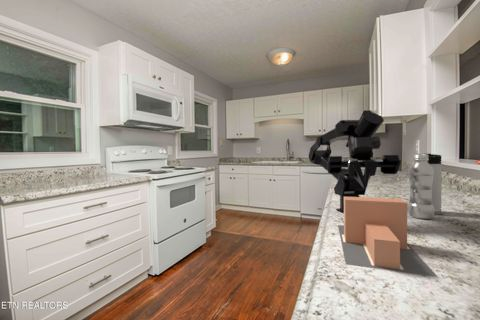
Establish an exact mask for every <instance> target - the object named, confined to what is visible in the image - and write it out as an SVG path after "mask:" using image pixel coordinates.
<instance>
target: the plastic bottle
mask: <svg viewBox="0 0 480 320" xmlns="http://www.w3.org/2000/svg"><path fill="white" fill-rule="evenodd" d="M428 154H429V153H424V154H423V153H422V154H421V153H420V154H413V157H412V158H413V159H412V161H413V162H412V164H411V165H410V166H409V167H408V170H407V174H408V175H407V176H408V180H409V202H408V203H407V213H408V214H409V216H410V217H412V218H415V219H420V220H432V219H433V218H434V216H435V215H434V206H433V202H432V182H433V177H434V176H433V175H434V170H433V168H432V167H431V166H430V165H429V163H428V162H427V161H428V160H429V159H428Z"/></svg>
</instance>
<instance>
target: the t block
mask: <svg viewBox="0 0 480 320" xmlns="http://www.w3.org/2000/svg"><path fill="white" fill-rule="evenodd" d="M343 226H344V238H345V242H348V243H357V244H365V246H366V248H367V250H368V252H369V255H370V257H371V259H372V262H373V264H374V266H380V267H387V268H394V269H400V248H403V249H407V243H408V202H407V201H405V200H404V199H402V198H389V197H386V198H385V197H367V196H366V197H365V196H364V197H361V196H359V197H344V213H343Z"/></svg>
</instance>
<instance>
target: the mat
mask: <svg viewBox="0 0 480 320" xmlns="http://www.w3.org/2000/svg"><path fill="white" fill-rule="evenodd" d="M337 228H338V232H339V239H340V242H341V243H340V244H341V247H342V252H343V257H344V262H345V265H349V266H355V267H362V268H363V267H364V268H369V269H370V268H371V269H376V270H377V269H378V270H384V271H391V272H399V273H406V274H413V275H420V276H427V277H435V278H439V276H438V275H437V273H435V272H434V271H433V270H432V268H431V267H430V266H429V265H428V264H427V263H426V262H425V260H424V259H422V257H421V256H420V255H419V254H418V253H417V252H416V251H415V250H414V249H413V247H412V246H411V245H410V244H409V243H408V242H407V249H403V248H400V269H394V268H387V267H380V266H374V264H373V262H372V259H371V257H370V255H369V252H368V250H367V248H366V246H365V244H357V243H348V242H345V238H344V224H343V225H341V224H338V225H337Z"/></svg>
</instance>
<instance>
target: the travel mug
mask: <svg viewBox="0 0 480 320" xmlns="http://www.w3.org/2000/svg"><path fill="white" fill-rule="evenodd" d="M427 154H428V159H429V160H428V161H427V162H428V163H429V165H430V166H431V167H432V168H433V170H434V175H433V176H434V177H433V182H432V202H433V206H434V216H436V215H437V216H439V215H441V214H442V183H443V181H442V178H443V176H442V173H443V172H442V170H443V169H442V164H443V163H442V154H434V153H433V154H432V153H427Z"/></svg>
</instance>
